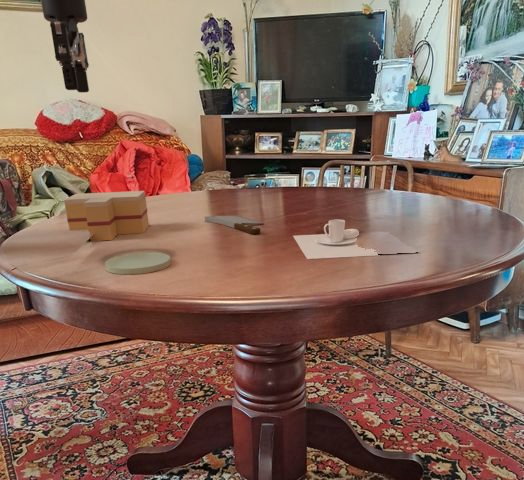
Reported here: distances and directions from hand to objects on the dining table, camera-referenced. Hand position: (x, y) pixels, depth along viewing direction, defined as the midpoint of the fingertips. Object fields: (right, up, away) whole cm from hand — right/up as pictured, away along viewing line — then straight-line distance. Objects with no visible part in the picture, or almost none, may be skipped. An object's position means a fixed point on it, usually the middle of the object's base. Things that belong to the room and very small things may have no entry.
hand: (77, 91), depth 97 cm
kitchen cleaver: (+30, -21, +21) cm, 42 cm away
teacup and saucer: (+52, -29, 0) cm, 60 cm away
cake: (0, -22, +21) cm, 30 cm away
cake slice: (+1, -25, +13) cm, 28 cm away
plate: (+14, -35, -10) cm, 39 cm away
